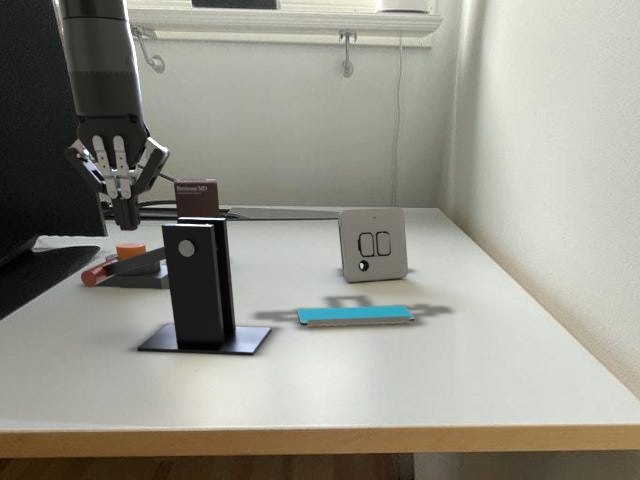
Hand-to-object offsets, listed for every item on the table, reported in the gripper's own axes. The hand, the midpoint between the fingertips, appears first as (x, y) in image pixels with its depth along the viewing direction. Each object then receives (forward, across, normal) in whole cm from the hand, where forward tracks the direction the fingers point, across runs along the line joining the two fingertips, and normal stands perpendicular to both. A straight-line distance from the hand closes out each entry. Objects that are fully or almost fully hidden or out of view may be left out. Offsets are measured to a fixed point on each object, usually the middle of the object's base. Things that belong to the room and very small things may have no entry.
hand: (129, 229), depth 84 cm
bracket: (+7, -17, +24) cm, 30 cm away
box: (+8, -5, -13) cm, 16 cm away
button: (+4, 0, 0) cm, 4 cm away
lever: (0, -13, +24) cm, 27 cm away
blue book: (+8, -30, +12) cm, 33 cm away
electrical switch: (+8, -30, -10) cm, 32 cm away
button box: (+7, 0, 0) cm, 7 cm away
